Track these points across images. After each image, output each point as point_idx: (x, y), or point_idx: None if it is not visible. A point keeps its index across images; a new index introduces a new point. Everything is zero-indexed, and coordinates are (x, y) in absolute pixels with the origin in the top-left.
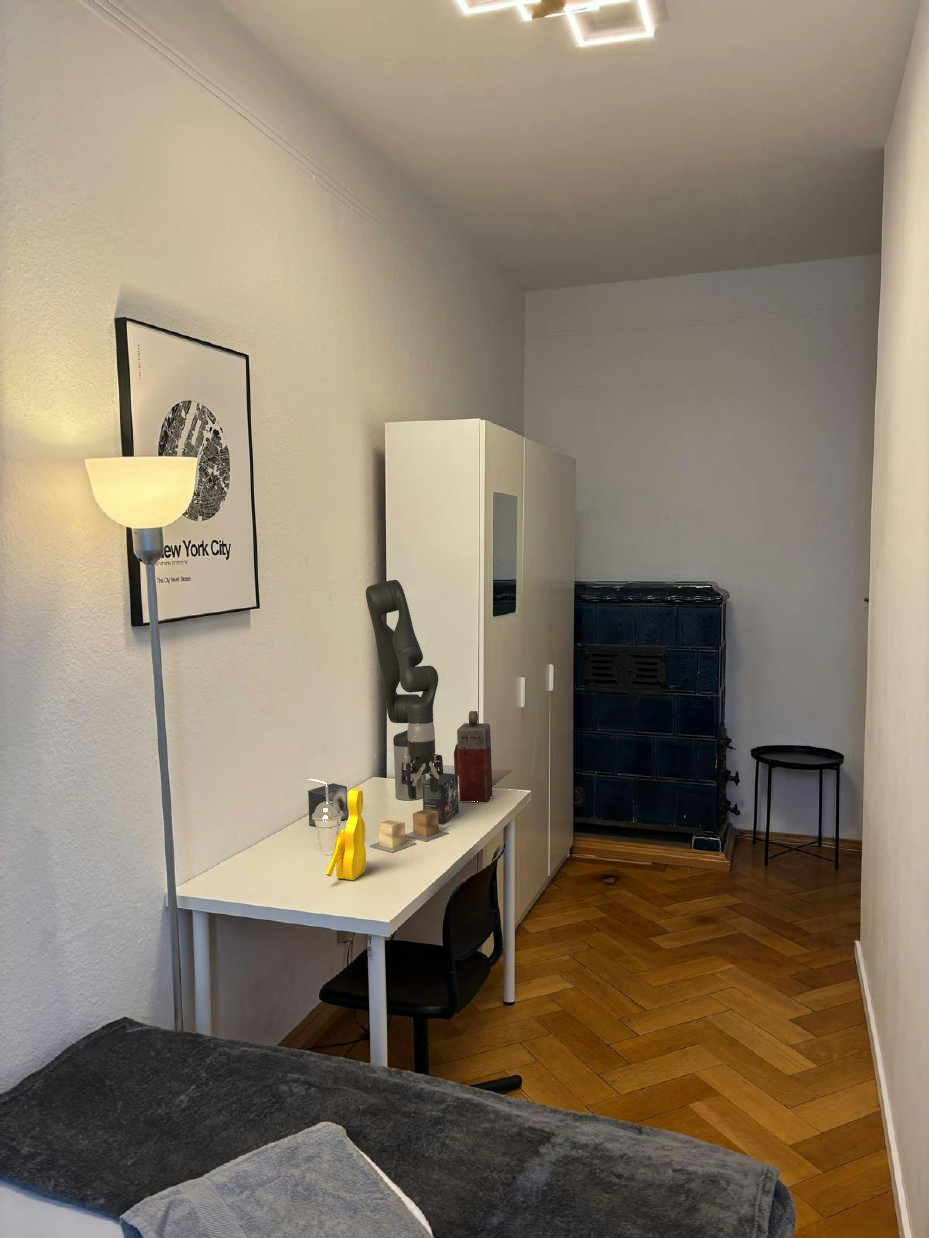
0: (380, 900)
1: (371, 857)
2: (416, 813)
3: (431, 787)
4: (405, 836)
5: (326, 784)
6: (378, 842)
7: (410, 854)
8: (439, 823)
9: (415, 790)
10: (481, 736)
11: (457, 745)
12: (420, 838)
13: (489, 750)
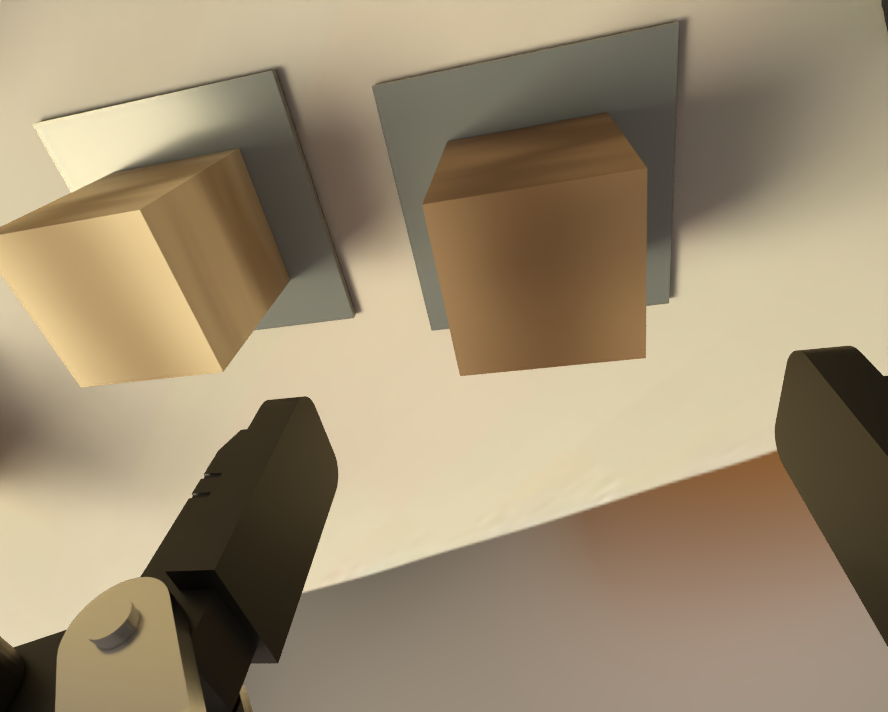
0: (6, 619)
1: (26, 313)
2: (453, 240)
3: (826, 419)
4: (272, 304)
5: None
6: (119, 106)
7: (245, 415)
8: (882, 3)
9: (291, 584)
10: None
11: None
12: (431, 261)
13: None
